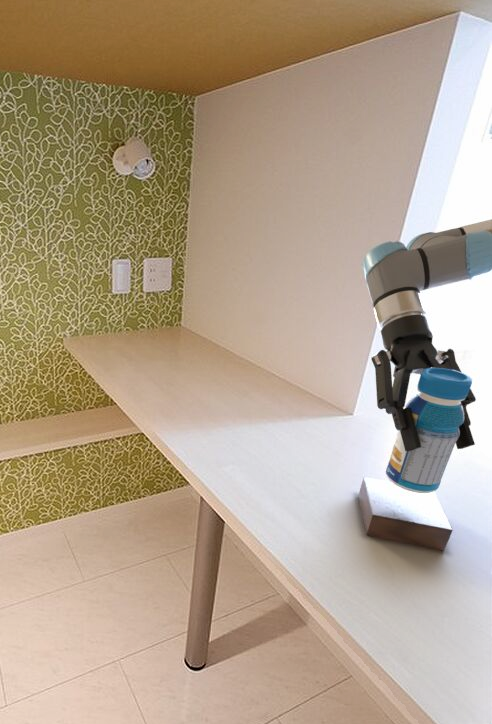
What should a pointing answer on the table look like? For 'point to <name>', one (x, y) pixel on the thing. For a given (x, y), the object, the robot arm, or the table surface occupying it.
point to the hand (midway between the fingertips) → (439, 447)
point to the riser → (403, 515)
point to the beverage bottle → (430, 430)
